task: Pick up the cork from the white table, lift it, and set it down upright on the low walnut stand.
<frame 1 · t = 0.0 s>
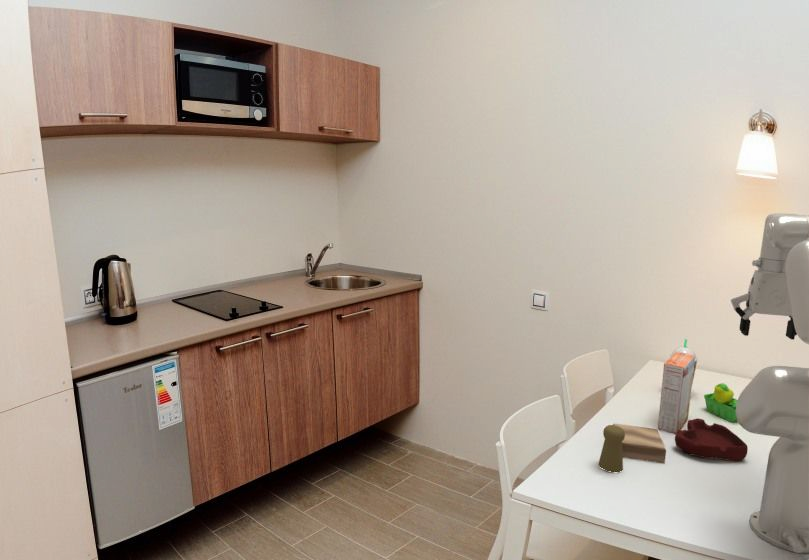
hand: (766, 336, 131), 37 cm above the table, tool pointing down, fingers open, 9 cm apart
smoothie: (679, 395, 187), on the table
ashtray: (711, 452, 150), on the table
fruit basket: (723, 416, 172), on the table
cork: (610, 467, 140), on the table
walnut stand: (636, 448, 150), on the table
cracker box: (672, 424, 166), on the table
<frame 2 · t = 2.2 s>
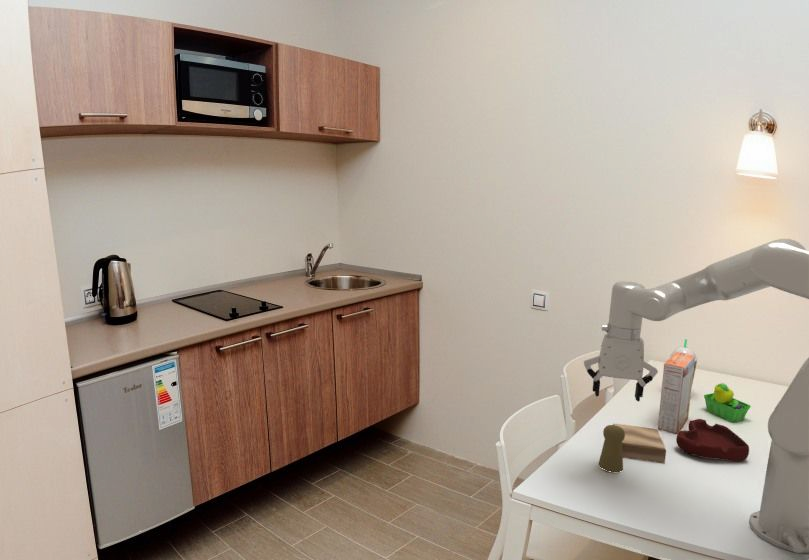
hand: (616, 396, 137), 19 cm above the table, tool pointing down, fingers open, 9 cm apart
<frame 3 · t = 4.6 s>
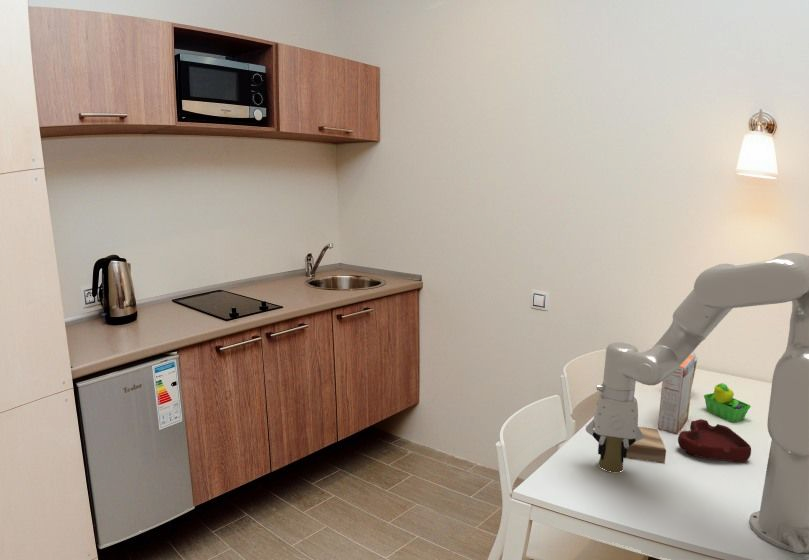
hand: (611, 457, 140), 3 cm above the table, tool pointing down, fingers closed on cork, 4 cm apart
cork: (610, 467, 140), on the table, touching gripper
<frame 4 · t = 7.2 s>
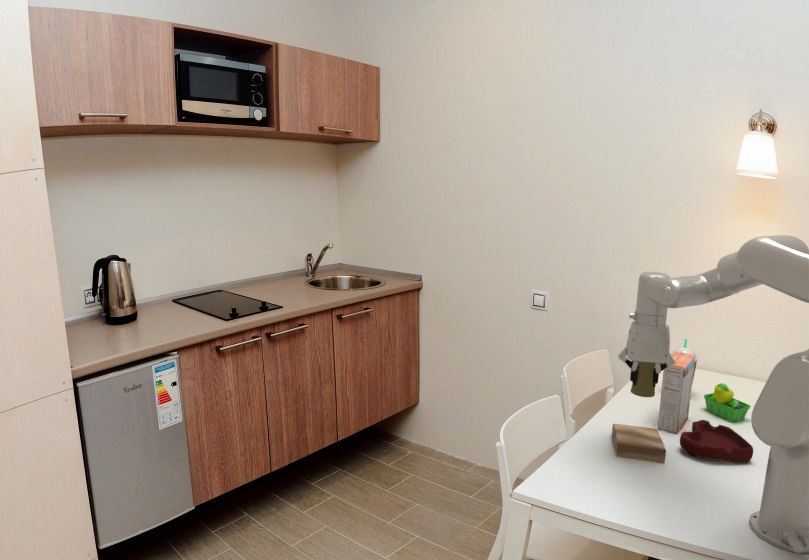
hand: (643, 384, 146), 19 cm above the table, tool pointing down, fingers closed on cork, 4 cm apart
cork: (642, 393, 146), point 16 cm above the table, touching gripper
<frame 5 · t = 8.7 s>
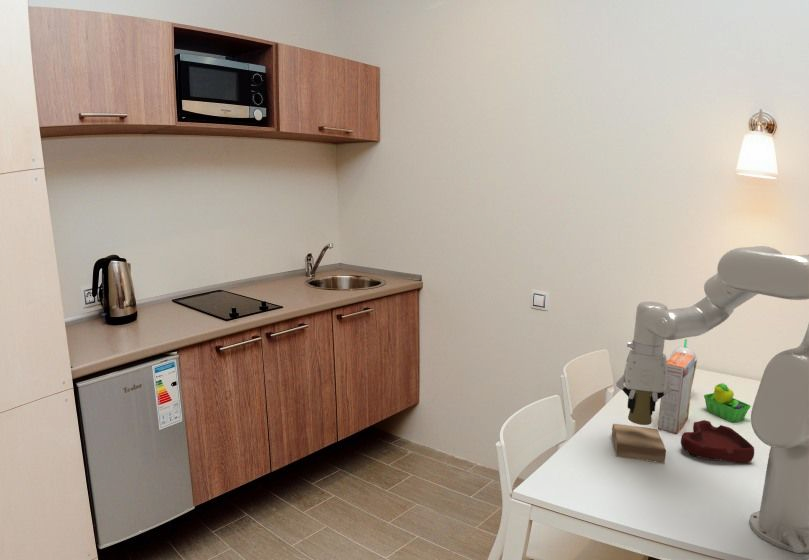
hand: (640, 411, 148), 11 cm above the table, tool pointing down, fingers closed on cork, 4 cm apart
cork: (639, 420, 148), point 8 cm above the table, touching gripper
when the fingers open (8 cm above the table, at t = 10.0 s): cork drops 1 cm, resting on walnut stand.
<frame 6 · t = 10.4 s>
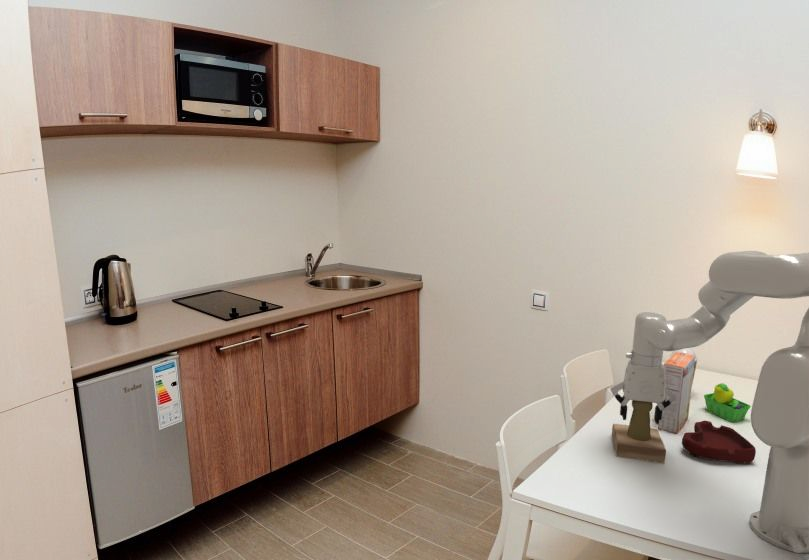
hand: (640, 419, 148), 9 cm above the table, tool pointing down, fingers open, 7 cm apart
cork: (638, 436, 149), point 4 cm above the table, touching walnut stand
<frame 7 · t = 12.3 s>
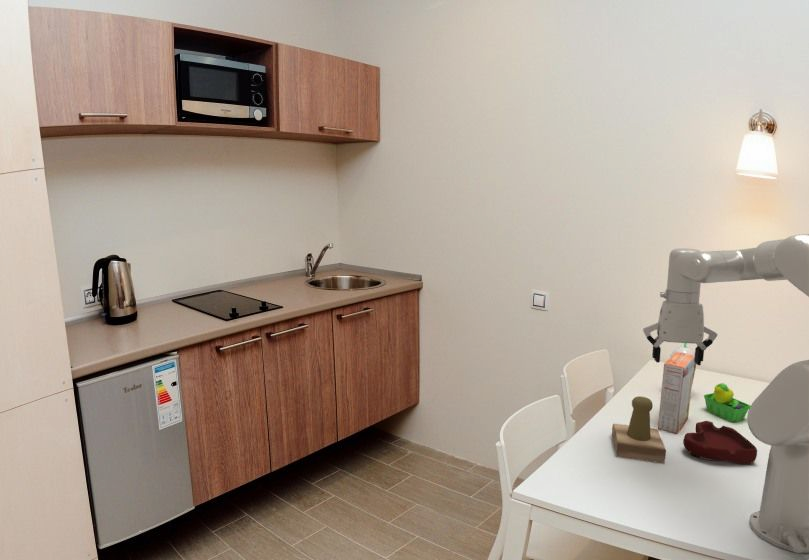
hand: (676, 362, 140), 27 cm above the table, tool pointing down, fingers open, 9 cm apart
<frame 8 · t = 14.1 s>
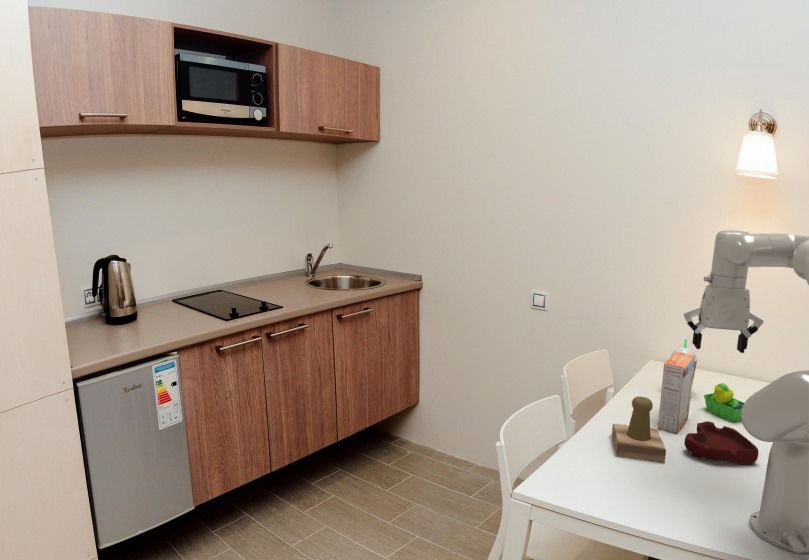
hand: (718, 349, 134), 32 cm above the table, tool pointing down, fingers open, 9 cm apart
at the end: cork inside the target area on the walnut stand (0.2 cm from its centre), point 3.8 cm above the walnut stand's base; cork tilted 0°; the gripper is holding nothing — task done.
